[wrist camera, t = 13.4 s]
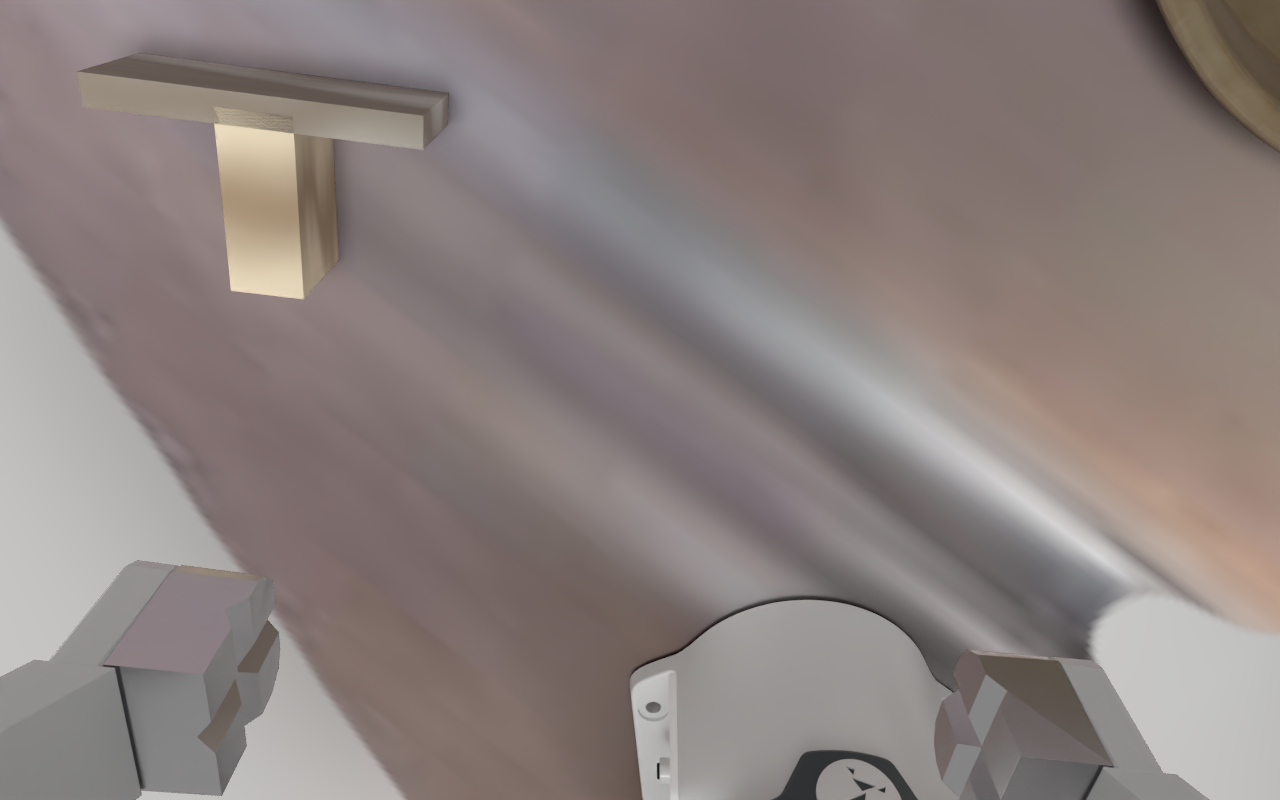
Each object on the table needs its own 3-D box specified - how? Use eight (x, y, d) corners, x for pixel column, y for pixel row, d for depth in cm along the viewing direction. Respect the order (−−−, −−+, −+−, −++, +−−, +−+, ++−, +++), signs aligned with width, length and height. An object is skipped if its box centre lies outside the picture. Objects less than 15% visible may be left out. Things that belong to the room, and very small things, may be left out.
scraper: (445, 273, 40) (421, 313, 36) (165, 239, 39) (110, 276, 35) (448, 92, 36) (423, 115, 32) (140, 53, 36) (76, 71, 32)
